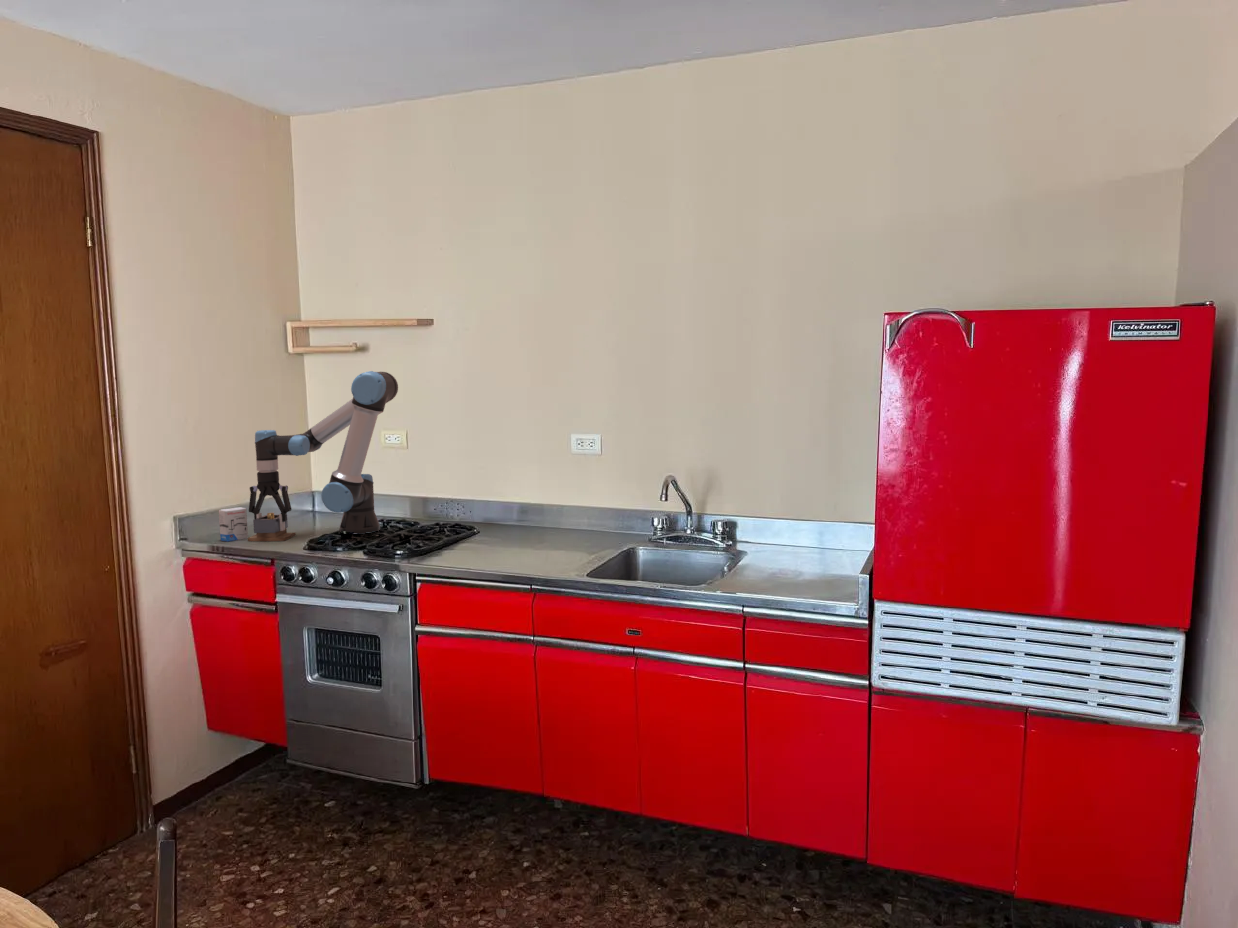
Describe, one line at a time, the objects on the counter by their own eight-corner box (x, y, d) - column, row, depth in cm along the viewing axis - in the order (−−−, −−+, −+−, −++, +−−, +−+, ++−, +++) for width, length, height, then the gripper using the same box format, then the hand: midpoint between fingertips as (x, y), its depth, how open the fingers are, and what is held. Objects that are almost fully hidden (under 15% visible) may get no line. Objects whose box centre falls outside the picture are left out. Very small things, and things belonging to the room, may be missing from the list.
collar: (287, 527, 316) (287, 514, 315) (275, 532, 305) (274, 519, 304) (267, 527, 316) (266, 514, 315) (254, 532, 305) (253, 519, 304)
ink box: (226, 542, 305) (224, 511, 304) (220, 540, 308) (217, 509, 307) (248, 538, 312) (246, 507, 311) (242, 536, 315) (240, 506, 314)
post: (276, 529, 311) (275, 512, 311) (272, 530, 308) (271, 513, 308) (269, 529, 311) (268, 512, 311) (266, 530, 309) (265, 513, 308)
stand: (295, 535, 315) (295, 527, 315) (284, 540, 305) (284, 532, 305) (260, 535, 316) (259, 527, 315) (247, 541, 306) (247, 532, 305)
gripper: (299, 469, 311) (302, 528, 314) (245, 470, 312) (248, 528, 314) (290, 471, 304) (294, 532, 306) (235, 472, 304) (239, 532, 307)
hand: (271, 530), depth 310 cm, fingers closed on collar, 8 cm apart
